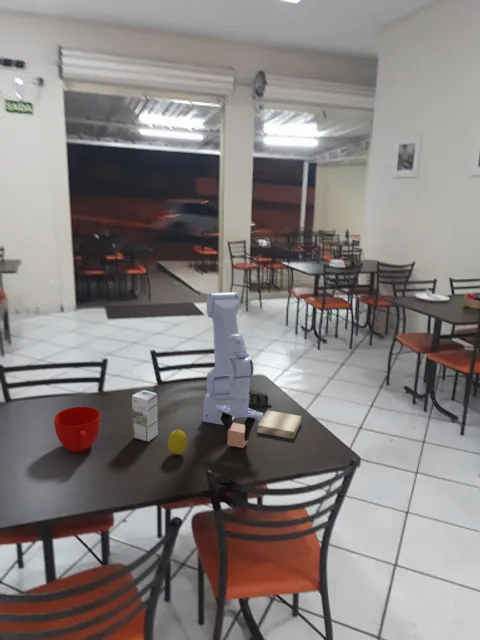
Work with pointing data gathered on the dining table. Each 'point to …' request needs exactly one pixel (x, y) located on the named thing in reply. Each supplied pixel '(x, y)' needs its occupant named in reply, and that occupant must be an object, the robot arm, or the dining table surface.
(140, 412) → the syrup box
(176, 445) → the lemon
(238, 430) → the terracotta cube
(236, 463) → the dining table surface
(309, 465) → the dining table surface
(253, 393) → the mobile phone
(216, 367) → the robot arm
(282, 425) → the birch block
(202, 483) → the dining table surface
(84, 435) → the ceramic cup
